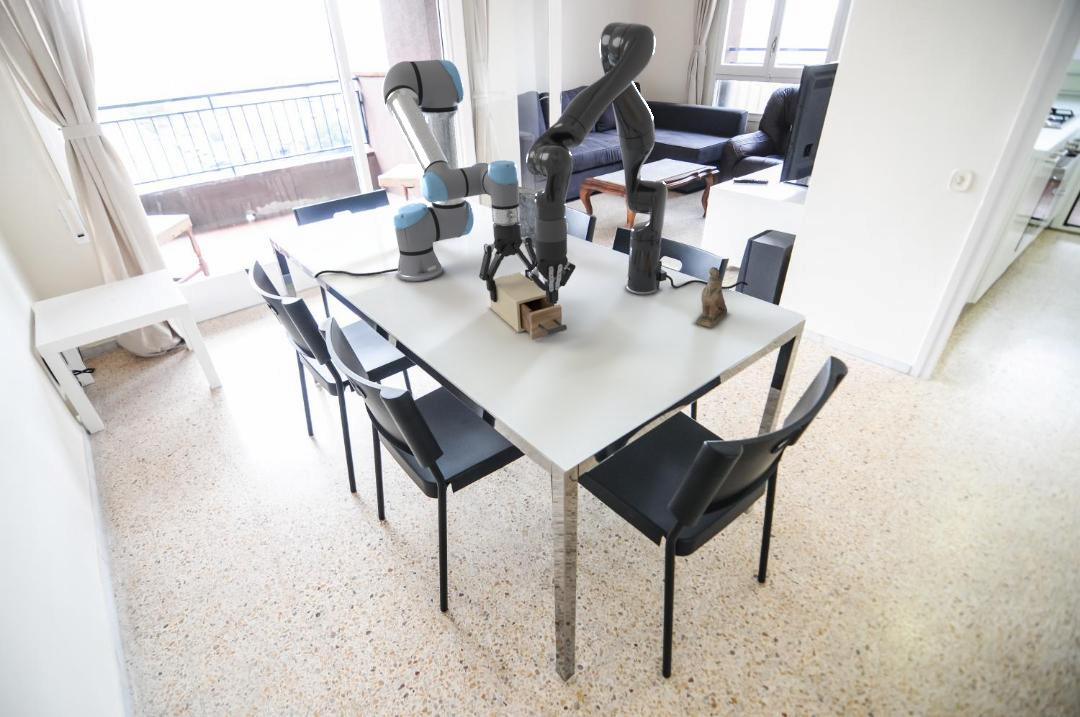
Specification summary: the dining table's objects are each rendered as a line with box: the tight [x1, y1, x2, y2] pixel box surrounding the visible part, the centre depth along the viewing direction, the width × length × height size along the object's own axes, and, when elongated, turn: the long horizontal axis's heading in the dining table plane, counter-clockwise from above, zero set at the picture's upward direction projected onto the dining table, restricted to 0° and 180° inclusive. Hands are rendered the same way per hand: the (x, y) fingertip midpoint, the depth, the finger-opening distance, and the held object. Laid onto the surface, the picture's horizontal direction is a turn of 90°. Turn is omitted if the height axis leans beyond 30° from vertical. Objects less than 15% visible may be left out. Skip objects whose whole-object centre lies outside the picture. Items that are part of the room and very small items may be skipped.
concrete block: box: [519, 186, 538, 247], centre depth 195 cm, size 27×9×20 cm, turn 36°
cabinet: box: [489, 271, 546, 333], centre depth 143 cm, size 18×10×9 cm, turn 29°
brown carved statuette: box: [695, 266, 728, 328], centre depth 135 cm, size 12×6×18 cm, turn 136°
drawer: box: [519, 297, 568, 340], centre depth 135 cm, size 23×9×7 cm, turn 29°
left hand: (511, 295), depth 147 cm, fingers open, 11 cm apart
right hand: (552, 303), depth 125 cm, fingers closed
